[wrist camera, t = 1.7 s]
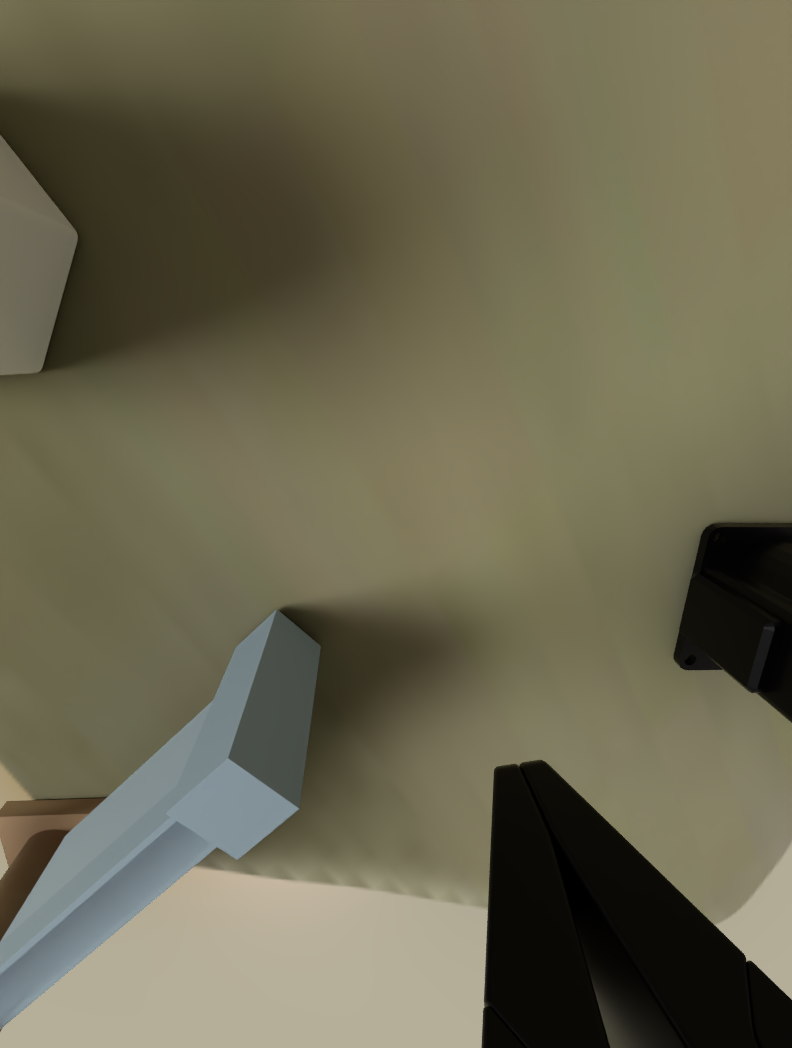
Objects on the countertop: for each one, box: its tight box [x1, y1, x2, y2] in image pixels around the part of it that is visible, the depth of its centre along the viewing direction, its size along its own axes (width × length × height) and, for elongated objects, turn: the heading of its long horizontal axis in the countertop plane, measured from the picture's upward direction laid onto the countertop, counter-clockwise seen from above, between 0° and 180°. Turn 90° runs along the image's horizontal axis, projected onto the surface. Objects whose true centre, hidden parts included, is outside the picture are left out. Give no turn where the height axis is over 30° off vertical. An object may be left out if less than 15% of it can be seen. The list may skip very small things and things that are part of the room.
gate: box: [0, 610, 321, 1029], centre depth 18 cm, size 13×2×8 cm, turn 133°
